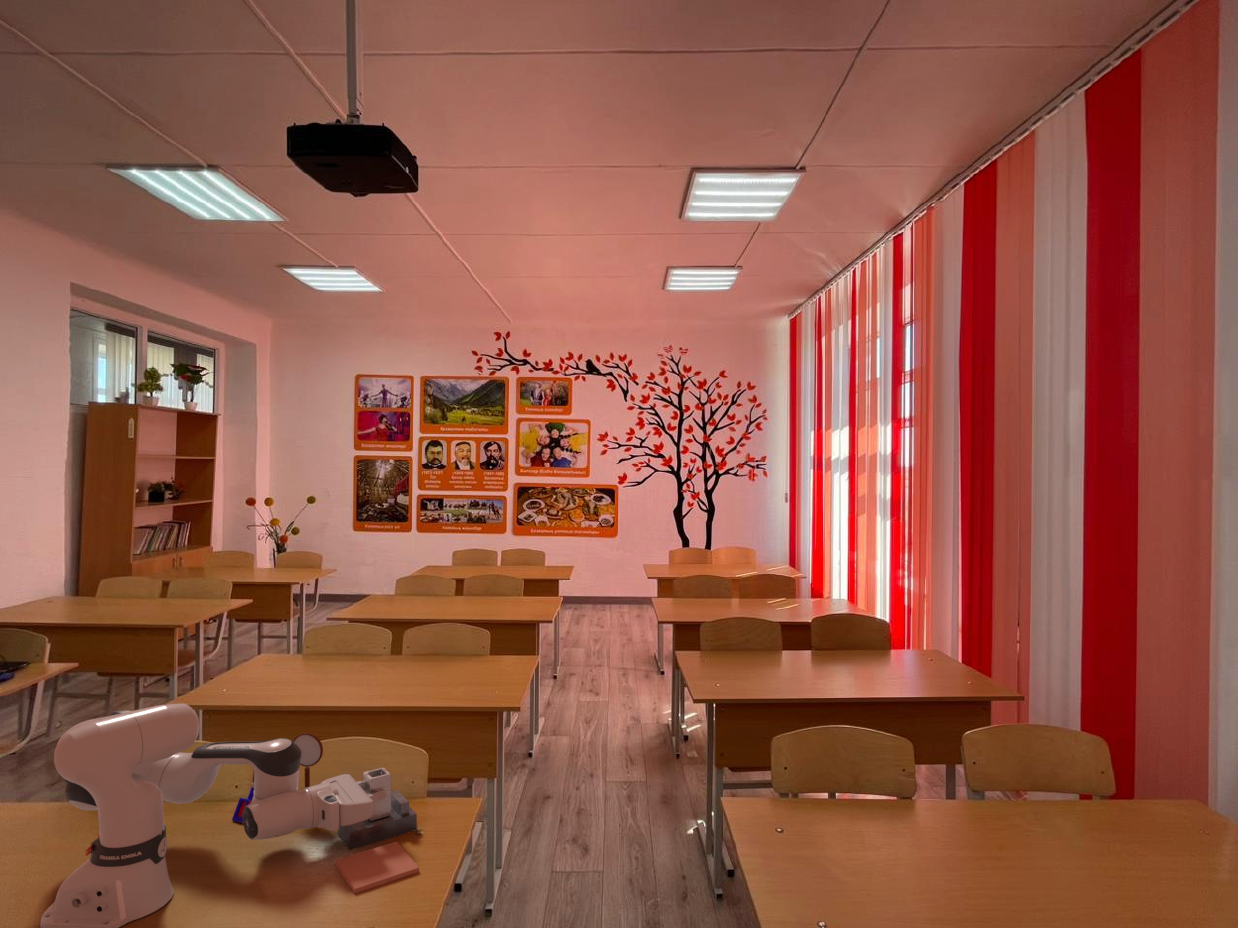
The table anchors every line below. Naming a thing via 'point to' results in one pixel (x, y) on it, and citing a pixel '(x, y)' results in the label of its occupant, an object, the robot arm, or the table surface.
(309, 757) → the magnifying glass
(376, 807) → the steel sleeve
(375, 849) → the terracotta mat
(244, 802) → the toy building block
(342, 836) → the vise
